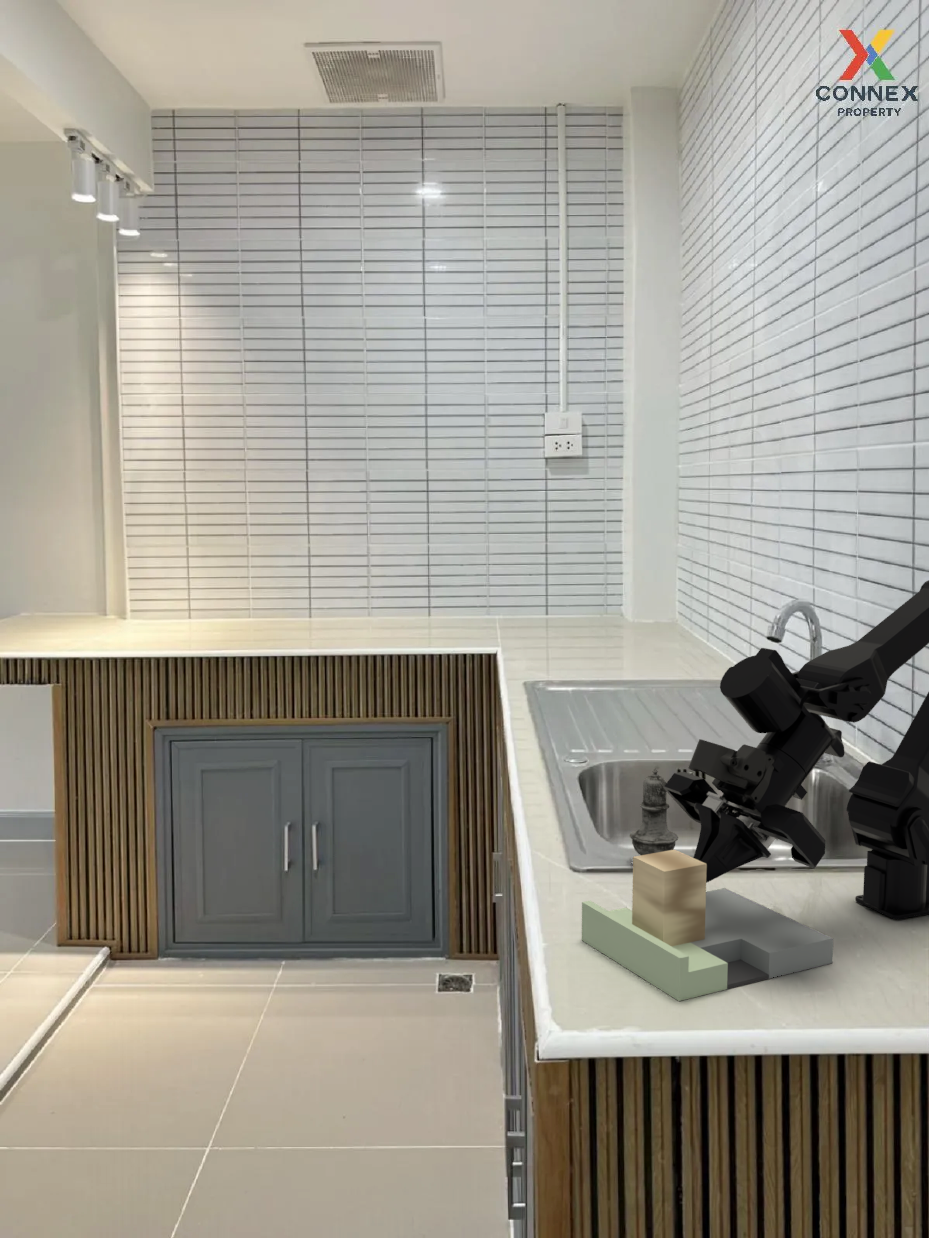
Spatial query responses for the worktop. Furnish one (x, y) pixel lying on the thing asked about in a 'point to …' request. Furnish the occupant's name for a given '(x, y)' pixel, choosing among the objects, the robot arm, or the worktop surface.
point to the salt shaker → (653, 819)
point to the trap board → (710, 946)
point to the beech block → (669, 896)
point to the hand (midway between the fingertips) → (691, 883)
